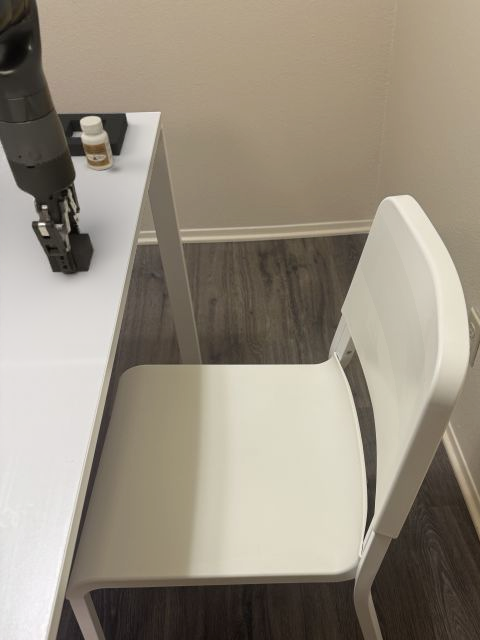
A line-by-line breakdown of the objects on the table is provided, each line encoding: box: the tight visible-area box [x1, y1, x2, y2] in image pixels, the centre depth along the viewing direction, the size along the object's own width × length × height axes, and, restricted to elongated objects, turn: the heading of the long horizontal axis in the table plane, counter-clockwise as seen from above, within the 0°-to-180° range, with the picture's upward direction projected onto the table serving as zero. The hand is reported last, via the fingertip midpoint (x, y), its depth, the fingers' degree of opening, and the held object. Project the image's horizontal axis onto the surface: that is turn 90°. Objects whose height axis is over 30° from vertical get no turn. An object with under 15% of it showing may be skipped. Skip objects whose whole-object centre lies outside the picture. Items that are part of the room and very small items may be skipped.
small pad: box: [46, 232, 94, 273], centre depth 88 cm, size 5×5×3 cm
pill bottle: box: [80, 116, 115, 171], centre depth 104 cm, size 4×4×8 cm
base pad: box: [57, 112, 129, 157], centre depth 112 cm, size 13×12×2 cm
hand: (72, 258), depth 88 cm, fingers closed on small pad, 5 cm apart
